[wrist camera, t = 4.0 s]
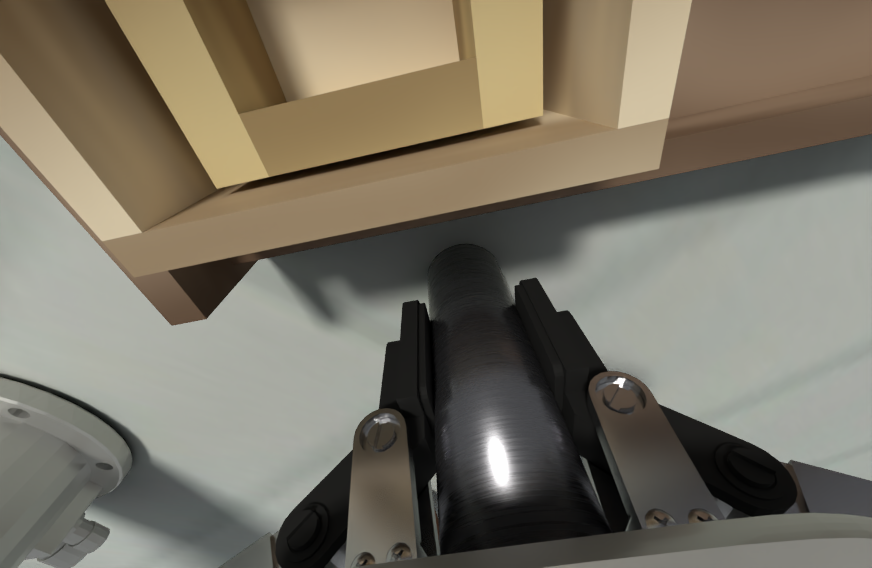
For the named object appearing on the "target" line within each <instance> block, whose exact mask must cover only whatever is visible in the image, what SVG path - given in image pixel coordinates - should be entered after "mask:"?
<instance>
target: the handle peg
mask: <svg viewBox="0 0 872 568" xmlns="http://www.w3.org/2000/svg"><path fill="white" fill-rule="evenodd" d="M428 295H429V318H430V331H431V352H432V374H433V396H434V430H435V453H436V475H437V497H438V520H439V542H440V555H446V554H454V553H461V552H469V551H477V550H484V549H492V548H500V547H508V546H515V545H523V544H531V543H539V542H546V541H554V540H562V539H570V538H578V537H586V536H593V535H601V534H610V533H612V531H611V529H610V526H609V524H608V522H607V519H606V517H605V515H604V512H603V510H602V508H601V505H600V503H599V501H598V498H597V496H596V493H595V491H594V489H593V486H592V484H591V482H590V479H589V477H588V475H587V472H586V470H585V468H584V465H583V463H582V460H581V458H580V456H579V453H578V451H577V449H576V446H575V444H574V442H573V439H572V437H571V435H570V432H569V430H568V427H567V425H566V423H565V420H564V418H563V416H562V413H561V411H560V409H559V406H558V404H557V402H556V399H555V397H554V395H553V393H552V390H551V388H550V386H549V383H548V381H547V378H546V376H545V374H544V371H543V369H542V367H541V364H540V362H539V360H538V357H537V355H536V353H535V350H534V348H533V345H532V343H531V341H530V338H529V336H528V334H527V331H526V329H525V327H524V324H523V322H522V319H521V317H520V315H519V312H518V310H517V308H516V305H515V303H514V300H513V298H512V296H511V293H510V291H509V288H508V286H507V284H506V281H505V279H504V277H503V274H502V272H501V270H500V267H499V265H498V263H497V261H496V259H495V257H494V256H493V255H492V254H491V253H490V252H489V251H487V250H486V249H484V248H482V247H479V246H476V245H470V244H463V245H457V246H453V247H450V248H448V249H446V250H444V251H443V252H441V253H440V254H439V255H438V256H437V257H436V258H435V259H434V260H433V262H432V263H431V265H430V268H429V271H428Z"/></svg>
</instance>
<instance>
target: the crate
mask: <svg viewBox="0 0 872 568" xmlns="http://www.w3.org/2000/svg"><path fill="white" fill-rule="evenodd" d="M691 3H692V0H0V127H1V128H2V129H3V130H4V131H5V133H6V134H7V135H8V136H9V137H10V138H11V139H12V140H13V142H14V143H15V144H16V145H17V146H18V147H19V148H20V149H21V151H22V152H23V153H24V154H25V155H26V156H27V157H28V158H29V160H30V161H31V162H32V163H33V164H34V165H35V166H36V168H37V169H38V170H39V171H40V172H41V173H42V174H43V175H44V177H45V178H46V179H47V180H48V181H49V182H50V183H51V184H52V186H53V187H54V188H55V189H56V190H57V191H58V192H59V193H60V195H61V196H62V197H63V198H64V199H65V200H66V201H67V202H68V204H69V205H70V206H71V207H72V208H73V209H74V210H75V212H76V213H77V214H78V215H79V216H80V217H81V218H82V219H83V221H84V222H85V223H86V224H87V225H88V226H89V227H90V228H91V230H92V231H93V232H94V233H95V234H96V235H97V236H98V237H99V239H100V240H101V241H102V242H103V243H104V244H105V245H106V246H107V248H108V249H109V250H110V251H111V252H112V253H113V254H114V255H115V257H116V258H117V259H118V260H119V261H120V262H121V263H122V265H123V266H124V267H125V268H126V269H127V270H128V271H129V272H130V274H131V275H132V276H133V277H139V276H144V275H149V274H154V273H158V272H163V271H168V270H173V269H178V268H182V267H187V266H192V265H197V264H202V263H207V262H211V261H216V260H221V259H226V258H231V257H236V256H240V255H245V254H250V253H255V252H260V251H265V250H269V249H274V248H279V247H284V246H289V245H293V244H298V243H303V242H308V241H313V240H318V239H322V238H327V237H332V236H337V235H342V234H347V233H351V232H356V231H361V230H366V229H371V228H376V227H380V226H385V225H390V224H395V223H400V222H405V221H409V220H414V219H419V218H424V217H429V216H433V215H438V214H443V213H448V212H453V211H458V210H462V209H467V208H472V207H477V206H482V205H487V204H491V203H496V202H501V201H506V200H511V199H516V198H520V197H525V196H530V195H535V194H540V193H544V192H549V191H554V190H559V189H564V188H569V187H573V186H578V185H583V184H588V183H593V182H598V181H602V180H607V179H612V178H617V177H622V176H627V175H631V174H636V173H641V172H646V171H651V170H655V169H659V166H660V161H661V156H662V150H663V145H664V140H665V135H666V130H667V125H668V120H669V115H670V110H671V105H672V100H673V95H674V90H675V85H676V79H677V74H678V69H679V64H680V59H681V54H682V49H683V44H684V39H685V34H686V29H687V24H688V19H689V14H690V8H691Z"/></svg>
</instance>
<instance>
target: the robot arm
mask: <svg viewBox="0 0 872 568" xmlns="http://www.w3.org/2000/svg"><path fill="white" fill-rule="evenodd" d="M515 303H516V308H517V310H518V312H519V315H520V317H521V319H522V322H523V324H524V327H525V329H526V331H527V334H528V336H529V338H530V341H531V343H532V345H533V348H534V350H535V353H536V355H537V357H538V360H539V362H540V364H541V367H542V369H543V371H544V374H545V376H546V378H547V381H548V383H549V386H550V388H551V390H552V393H553V395H554V397H555V399H556V402H557V404H558V406H559V409H560V411H561V413H562V416H563V418H564V420H565V423H566V425H567V427H568V430H569V432H570V435H571V437H572V439H573V442H574V444H575V446H576V449H577V451H578V453H579V455H580V456H582V461H583V464H584V467H585V470H586V472H587V475H588V477H589V479H590V482H591V484H592V486H593V489H594V491H595V493H596V496H597V498H598V501H599V503H600V505H601V508H602V510H603V512H604V515H605V517H606V519H607V522H608V524H609V526H610V529H611V531H612V533H610V534H601V535H593V536H586V537H578V538H570V539H562V540H554V541H546V542H539V543H531V544H523V545H515V546H508V547H500V548H492V549H484V550H477V551H469V552H461V553H454V554H446V555H440V547H439V539H438V532H437V524H436V517H435V510H434V502H433V495H432V487H431V481H430V480H431V478H432V477H433V476H434V475H435V473H436V453H435V430H434V396H433V374H432V352H431V331H430V319H429V316H428V312H427V308H426V305H425V303H421V304H420V303H419V301H418V300H415V301H410V302H405V303H403V306H402V320H401V334H400V340H399V341H394V342H388V344H387V347H386V354H385V362H384V371H383V379H382V387H381V396H380V404H379V409H378V410H376V411H374V412H372V413H370V414H369V415H367V416H366V417H365V418H364V419H363V420H362V421H361V422H360V424H359V425H358V427H357V429H356V431H355V435H354V441H353V450H352V451H351V452H350V453H349V454H348V455H347V456H346V457H345V458H344V459H343V460H342V461H341V462H340V463H339V464H338V465H337V466H336V467H335V468H334V469H333V470H332V471H331V472H330V473H329V474H328V475H327V476H326V477H325V478H324V479H323V480H322V481H321V482H320V483H319V484H318V485H317V486H316V487H315V488H314V489H313V490H312V491H311V492H310V493H309V494H308V495H307V496H306V497H305V498H304V499H303V500H302V501H301V502H300V503H299V504H298V505H297V506H296V507H295V508H294V509H293V511H292V512H291V513H290V514H289V515H288V517H287V518H286V519H285V521H284V523H283V525H282V526H281V528H280V530H279V531H277V532H276V533H274V534H273V535H272V534H271V533H268V534H266V535H265V536H263V537H262V538H260V539H259V540H258V541H256V542H255V543H253V544H252V545H250V546H249V547H247V548H246V549H245V550H243V551H242V552H240V553H239V554H237V555H236V556H234V557H233V558H232V559H230V560H229V561H227V562H226V563H224V564H223V565H221V566H220V567H219V568H872V481H870V480H866V479H862V478H858V477H855V476H851V475H847V474H843V473H839V472H835V471H832V470H828V469H824V468H820V467H816V466H812V465H809V464H805V463H801V462H797V461H793V460H790V461H789V462H788V463H783V462H779V461H778V460H777V459H775V458H774V457H773V456H771V455H770V454H769V453H767V452H766V451H764V450H762V449H761V448H759V447H757V446H755V445H753V444H751V443H749V442H746V441H744V440H742V439H739V438H737V437H735V436H732V435H730V434H728V433H725V432H723V431H721V430H718V429H716V428H713V427H711V426H709V425H706V424H704V423H702V422H699V421H697V420H695V419H692V418H690V417H688V416H685V415H683V414H681V413H678V412H676V411H674V410H671V409H669V408H667V407H664V406H662V405H660V404H658V403H657V401H656V399H655V398H654V396H653V394H652V393H651V391H650V390H649V389H648V387H647V386H646V385H645V384H644V383H642V382H641V381H640V380H638V379H637V378H635V377H633V376H631V375H629V374H626V373H622V372H615V371H607V369H606V367H605V366H604V364H603V363H602V361H601V360H600V358H599V357H598V355H597V353H596V352H595V350H594V349H593V347H592V346H591V344H590V343H589V341H588V339H587V338H586V336H585V335H584V333H583V332H582V330H581V329H580V327H579V325H578V324H577V322H576V321H575V319H574V318H573V316H572V315H571V313H570V312H569V311H567V310H566V311H561V312H556V310H555V308H554V306H553V305H552V303H551V301H550V300H549V298H548V296H547V295H546V293H545V291H544V289H543V288H542V286H541V284H540V283H539V281H538V279H537V278H532V279H527V280H521V281H520V283H519V285H517V286H515ZM132 461H133V460H132V456H131V452H130V449H129V447H128V446H127V444H126V442H125V441H124V439H123V438H122V437H121V436H120V435H119V434H118V433H117V432H116V431H115V430H114V429H113V428H112V427H111V426H109V425H108V424H106V423H105V422H104V421H102V420H101V419H99V418H98V417H97V416H95V415H94V414H92V413H90V412H88V411H86V410H85V409H83V408H81V407H79V406H78V405H76V404H74V403H71V402H69V401H67V400H65V399H63V398H60V397H58V396H56V395H54V394H51V393H49V392H46V391H43V390H40V389H38V388H35V387H32V386H29V385H26V384H23V383H20V382H16V381H13V380H9V379H5V378H2V377H0V568H18V567H19V565H20V564H21V563H22V562H23V560H26V559H33V558H37V561H39V562H42V563H45V564H47V565H50V566H53V567H56V568H71V567H73V566H75V565H76V564H77V563H78V562H79V561H81V560H82V559H83V558H84V557H85V556H86V555H87V553H91V552H93V551H95V550H96V549H98V548H99V547H100V546H101V545H102V544H103V543H104V542H105V540H106V539H107V537H108V535H109V533H110V529H109V528H107V527H105V526H103V525H101V524H99V523H97V522H94V521H89V520H87V519H85V518H84V517H85V511H86V510H87V508H88V507H89V506H90V504H91V503H92V502H93V500H94V499H95V498H98V497H101V496H103V495H105V494H107V493H110V492H112V491H113V490H114V489H115V488H116V487H117V486H119V484H120V483H121V482H122V480H123V479H124V477H125V476H126V475H127V473H128V472H129V470H130V469H131V465H132Z"/></svg>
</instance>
